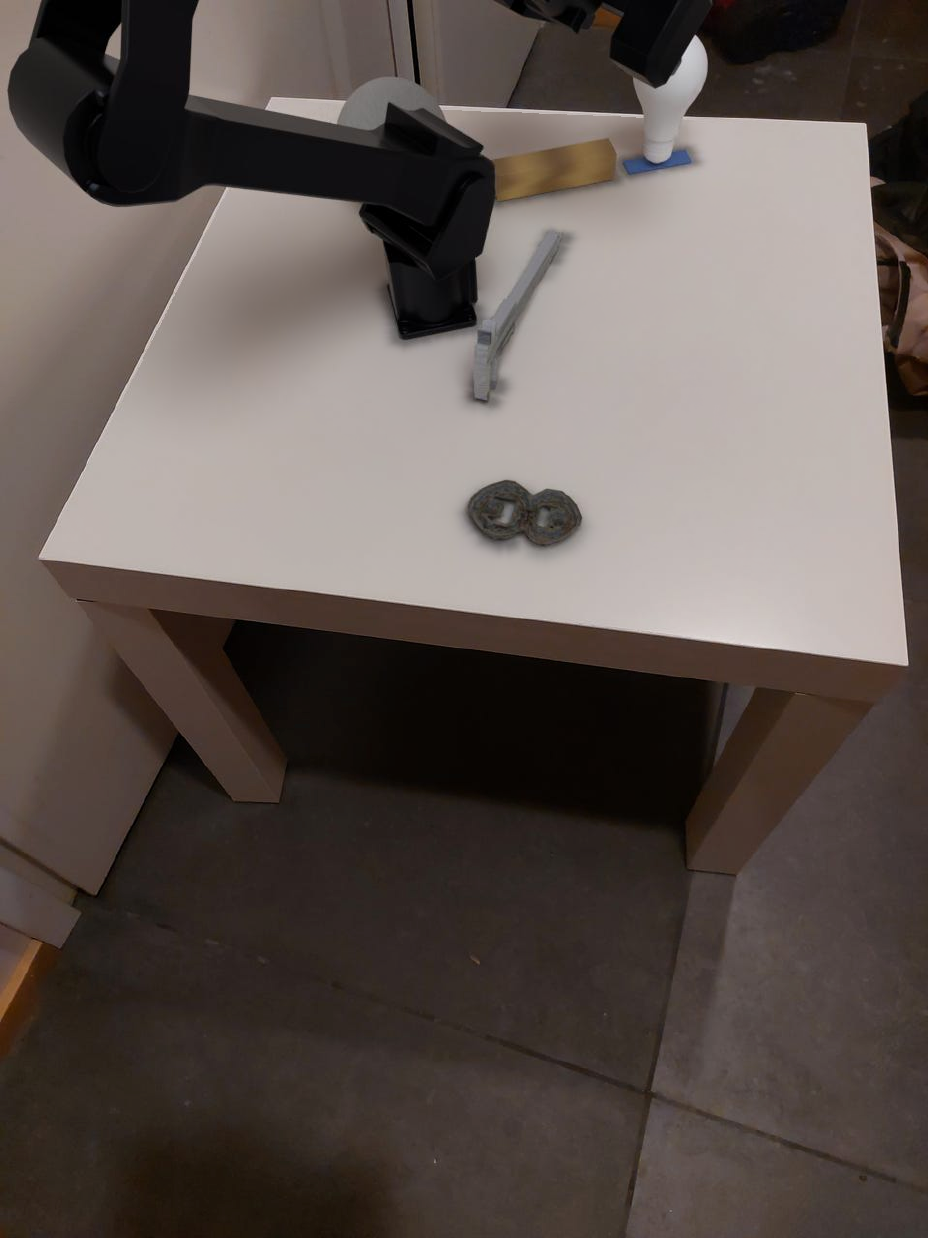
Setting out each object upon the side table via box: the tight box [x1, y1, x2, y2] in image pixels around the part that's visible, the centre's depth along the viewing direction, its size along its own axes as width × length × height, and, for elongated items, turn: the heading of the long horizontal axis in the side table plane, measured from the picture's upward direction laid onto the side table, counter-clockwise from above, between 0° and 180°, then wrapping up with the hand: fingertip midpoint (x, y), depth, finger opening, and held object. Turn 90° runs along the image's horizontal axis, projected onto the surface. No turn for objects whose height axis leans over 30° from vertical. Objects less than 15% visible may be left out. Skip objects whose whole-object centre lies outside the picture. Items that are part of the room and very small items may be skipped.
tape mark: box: [622, 148, 692, 175], centre depth 78 cm, size 6×2×1 cm, turn 102°
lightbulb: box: [632, 34, 709, 164], centre depth 73 cm, size 6×6×11 cm
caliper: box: [472, 230, 564, 401], centre depth 67 cm, size 20×1×6 cm, turn 160°
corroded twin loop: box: [467, 479, 583, 546], centre depth 59 cm, size 5×8×1 cm, turn 76°
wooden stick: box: [490, 137, 618, 202], centre depth 77 cm, size 11×2×2 cm, turn 102°
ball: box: [336, 76, 448, 130], centre depth 74 cm, size 10×10×10 cm
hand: (632, 44), depth 66 cm, fingers open, 9 cm apart
